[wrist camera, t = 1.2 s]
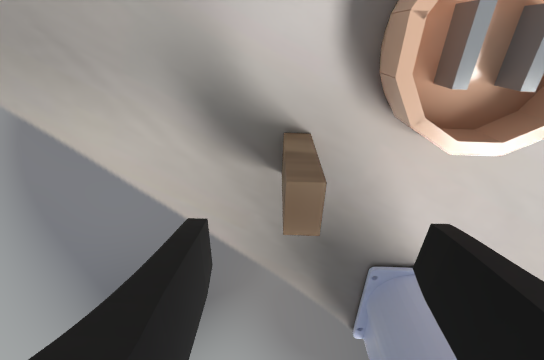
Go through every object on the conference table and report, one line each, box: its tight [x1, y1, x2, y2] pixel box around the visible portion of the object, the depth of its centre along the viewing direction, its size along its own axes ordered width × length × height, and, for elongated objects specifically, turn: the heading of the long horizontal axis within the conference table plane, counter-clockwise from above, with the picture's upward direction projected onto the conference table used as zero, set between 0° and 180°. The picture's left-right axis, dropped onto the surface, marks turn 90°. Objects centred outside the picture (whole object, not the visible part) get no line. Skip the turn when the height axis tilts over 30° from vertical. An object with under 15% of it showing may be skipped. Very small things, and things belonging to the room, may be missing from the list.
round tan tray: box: [379, 0, 544, 156], centre depth 14 cm, size 11×11×3 cm
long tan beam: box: [282, 133, 327, 236], centre depth 16 cm, size 3×2×7 cm, turn 178°
